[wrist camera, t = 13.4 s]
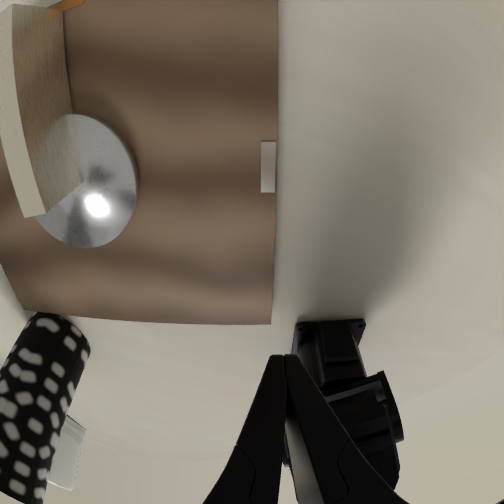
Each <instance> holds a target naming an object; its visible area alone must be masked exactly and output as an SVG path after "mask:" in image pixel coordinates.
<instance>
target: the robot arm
mask: <svg viewBox="0 0 504 504" xmlns="http://www.w3.org/2000/svg"><path fill="white" fill-rule="evenodd" d="M365 326H366V323H365V320H364V319H353V320H337V321H319V322H300V323H297V324H296V326H295V332H294V339H293V346H292V352H291V354H285V355H284V356H283V355H271V356H270V357H269V360H268V363H267V366H266V368H265V371H264V374H263V376H262V379H261V382H260V384H259V387H258V390H257V392H256V395H255V397H254V400H253V403H252V405H251V408H250V410H249V413H248V415H247V418H246V420H245V423H244V425H243V428H242V430H241V433H240V435H239V438H238V440H237V442H236V445H235V447H234V449H233V452H232V454H231V456H230V458H229V461H228V463H227V465H226V467H225V469H224V471H223V472H222V474H221V476H220V478H219V479H218V481H217V483H216V484H215V486H214V487H213V489H212V490H211V492H210V493H209V495H208V496H207V498H206V499H205V501H204V502H203V504H278V496H279V486H280V477H281V467H282V462H283V464H284V466H285V467H286V468H287V469H288V470H291V474H292V477H293V481H294V487H295V493H296V499H297V501H298V504H409V503H408V502H406V501H405V500H403V499H402V498H401V497H399V496H398V495H397V494H396V493H395V492H394V491H393V490H394V489H395V487H396V484H397V482H398V479H399V470H400V464H399V459H398V453H397V448H396V443H397V442H400V441H403V440H404V435H403V428H402V424H401V419H400V415H399V412H398V408H397V405H396V402H395V400H394V397H393V394H392V391H391V389H390V386H389V383H388V381H387V378H386V375H385V373H384V370H383V371H380V372H377V374H375V375H372V376H369V377H367V375H366V371H365V368H364V364H363V361H362V358H361V354H360V351H359V348H358V345H359V343H360V340H361V337H362V335H363V332H364V329H365ZM496 504H504V499H503V500H501V501H500V502H498V503H496Z"/></svg>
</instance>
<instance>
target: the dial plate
mask: <svg viewBox="0 0 504 504" xmlns="http://www.w3.org/2000/svg"><path fill="white" fill-rule="evenodd" d="M48 9H54V10H59V11H63V35H64V49H65V60H66V69H67V78H68V85H69V92H70V99H71V105H72V111H73V113H75V112H79V113H87V114H92V115H94V116H97V117H99V118H101V119H103V120H105V121H106V122H108V123H109V124H110V125H112V126H113V127H114V128H115V129H116V130H117V131H118V132H119V133H120V134H121V135H122V137H123V138H124V140H125V141H126V142H127V144H128V146H129V148H130V150H131V151H132V154H133V156H134V159H135V162H136V165H137V169H138V175H139V197H138V202H137V206H136V209H135V211H134V214H133V216H132V218H131V219H130V221H129V222H128V224H127V225H126V226H125V228H124V229H123V231H122V232H121V233H120V234H119V235H118V236H117V237H116V238H115V239H113V240H112V241H110V242H109V243H107V244H105V245H102V246H99V247H93V248H81V247H75V246H71V245H68V244H66V243H64V242H62V241H60V240H58V239H56V238H55V237H53V236H52V235H51V234H49V233H48V232H47V231H46V230H45V229H44V228H43V227H42V226H41V225H40V224H39V222H38V221H37V220H36V218H35V217H34V216H32V217H27V218H24V216H23V213H22V210H21V207H20V204H19V202H18V199H17V196H16V192H15V189H14V186H13V183H12V180H11V176H10V173H9V169H8V166H7V162H6V158H5V154H4V150H3V146H2V141H1V137H0V263H1V265H2V267H3V269H4V271H5V274H6V276H7V278H8V280H9V282H10V284H11V286H12V288H13V290H14V292H15V294H16V296H17V298H18V299H19V301H20V303H21V305H22V307H23V309H24V310H31V311H38V312H45V313H53V314H61V315H70V316H79V317H89V318H99V319H111V320H124V321H139V322H156V323H178V324H219V325H259V324H271V313H272V293H273V270H274V246H275V218H276V185H277V141H278V0H63V1H61V2H59V3H57V4H54V5H52V6H50V7H48Z"/></svg>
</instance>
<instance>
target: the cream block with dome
mask: <svg viewBox="0 0 504 504" xmlns="http://www.w3.org/2000/svg"><path fill="white" fill-rule="evenodd" d="M0 137H1V141H2V146H3V150H4V154H5V158H6V162H7V166H8V169H9V173H10V176H11V180H12V183H13V186H14V189H15V192H16V196H17V199H18V202H19V204H20V207H21V210H22V213H23V216H24V218H27V217H32V216H34V217H35V218H36V220H37V221H38V222H39V224H40V225H41V226H42V227H43V228H44V229H45V230H46V231H47V232H48V233H49V234H51V235H52V236H53V237H55V238H56V239H58V240H60V241H62V242H64V243H66V244H68V245H71V246H75V247H81V248H93V247H99V246H102V245H105V244H107V243H109V242H110V241H112V240H113V239H115V238H116V237H117V236H118V235H119V234H120V233H121V232H122V231H123V229H124V228H125V226H126V225H127V224H128V222H129V221H130V219H131V218H132V216H133V214H134V211H135V209H136V206H137V202H138V197H139V175H138V169H137V165H136V162H135V159H134V156H133V154H132V151H131V150H130V148H129V146H128V144H127V142H126V141H125V140H124V138H123V137H122V135H121V134H120V133H119V132H118V131H117V130H116V129H115V128H114V127H113V126H112V125H110V124H109V123H108V122H106V121H105V120H103V119H101V118H99V117H97V116H94V115H92V114H87V113H79V112H75V113H73V111H72V105H71V99H70V92H69V85H68V78H67V69H66V60H65V49H64V35H63V11H59V10H54V9H48V8H42V7H35V6H28V5H20V4H12V5H10V6H9V7H7V8H6V9H5V10H3V11H2V12H1V13H0Z"/></svg>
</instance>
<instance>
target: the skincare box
mask: <svg viewBox="0 0 504 504" xmlns="http://www.w3.org/2000/svg"><path fill="white" fill-rule="evenodd" d="M85 432H86V429H84V428H83V427H81V426H80V425H79V424H77V423H76V422H75V421H73V420H72V419H71V418H69V417H68V416H66V419H65V422H64V425H63V428H62V431H61V434H60V438H59V441H58V444H57V448H56V451H55V455H54V458H53V462H52V466H51V469H50V473H49V477H48V481H47V482H50V483H52V484H54V485H57V486H59V487H62V488H65V489H68V490H70V491H73V488H74V483H75V478H76V472H77V467H78V462H79V457H80V453H81V448H82V444H83V440H84V436H85Z"/></svg>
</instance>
